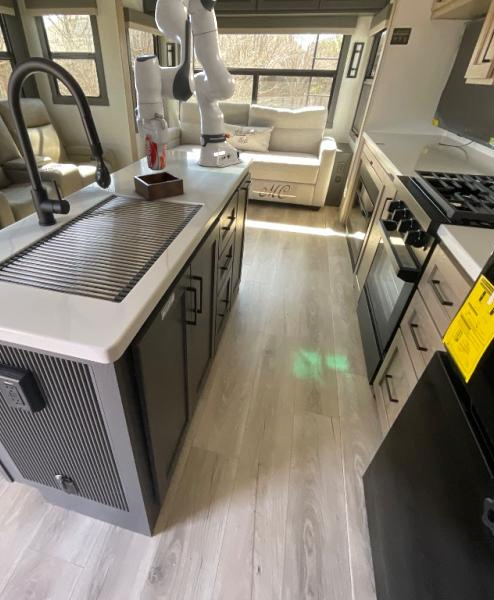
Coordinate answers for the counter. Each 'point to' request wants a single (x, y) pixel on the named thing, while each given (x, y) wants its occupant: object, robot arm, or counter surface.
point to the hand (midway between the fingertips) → (155, 154)
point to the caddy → (158, 185)
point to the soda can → (154, 155)
